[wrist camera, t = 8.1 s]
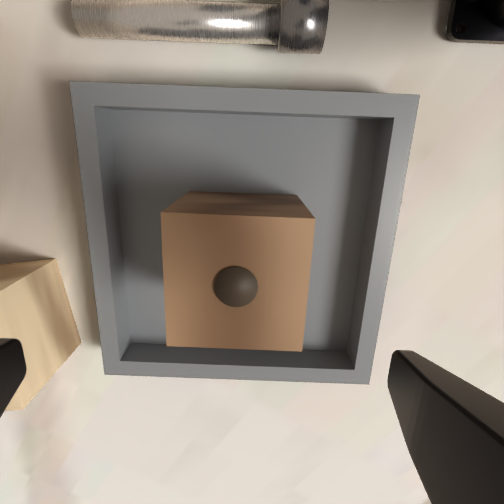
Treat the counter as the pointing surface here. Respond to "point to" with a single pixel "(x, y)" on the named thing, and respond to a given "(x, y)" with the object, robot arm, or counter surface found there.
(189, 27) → the rod
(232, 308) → the block
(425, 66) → the counter surface
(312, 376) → the tray
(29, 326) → the block
